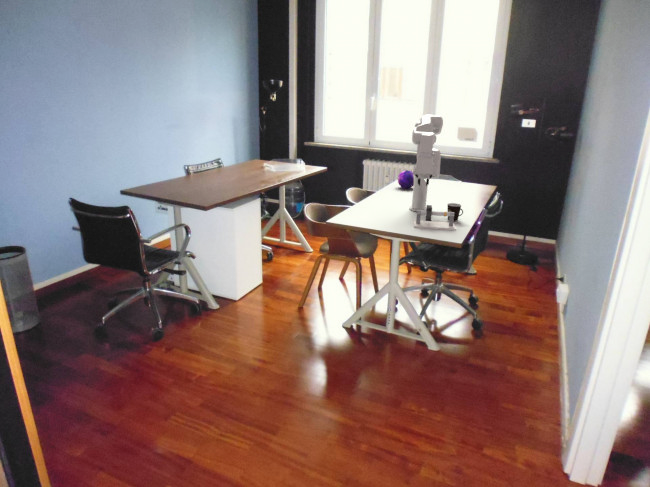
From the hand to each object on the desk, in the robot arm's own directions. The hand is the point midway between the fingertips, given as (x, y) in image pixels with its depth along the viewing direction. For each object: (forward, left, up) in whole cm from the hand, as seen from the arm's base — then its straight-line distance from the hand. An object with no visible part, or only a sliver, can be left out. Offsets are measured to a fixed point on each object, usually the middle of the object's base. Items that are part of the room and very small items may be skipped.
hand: (423, 185), depth 290 cm
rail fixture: (0, +9, -25) cm, 27 cm away
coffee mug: (-16, +22, -25) cm, 37 cm away
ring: (0, +5, -21) cm, 22 cm away
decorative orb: (-107, -9, -25) cm, 110 cm away
